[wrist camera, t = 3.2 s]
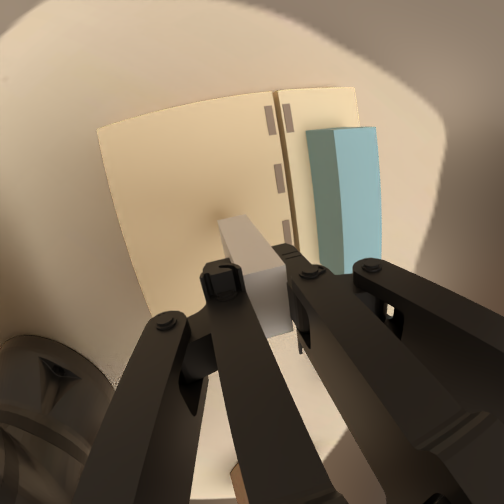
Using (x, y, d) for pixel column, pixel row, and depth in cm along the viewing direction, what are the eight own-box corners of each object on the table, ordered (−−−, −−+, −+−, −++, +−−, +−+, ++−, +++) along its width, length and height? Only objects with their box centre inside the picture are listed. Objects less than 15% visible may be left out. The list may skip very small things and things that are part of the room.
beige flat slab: (161, 320, 24) (160, 338, 22) (105, 130, 18) (95, 128, 15) (290, 287, 26) (300, 302, 23) (261, 96, 19) (272, 90, 17)
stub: (294, 286, 26) (325, 328, 20) (267, 95, 19) (300, 79, 14) (353, 268, 27) (393, 302, 21) (338, 90, 20) (387, 80, 14)
